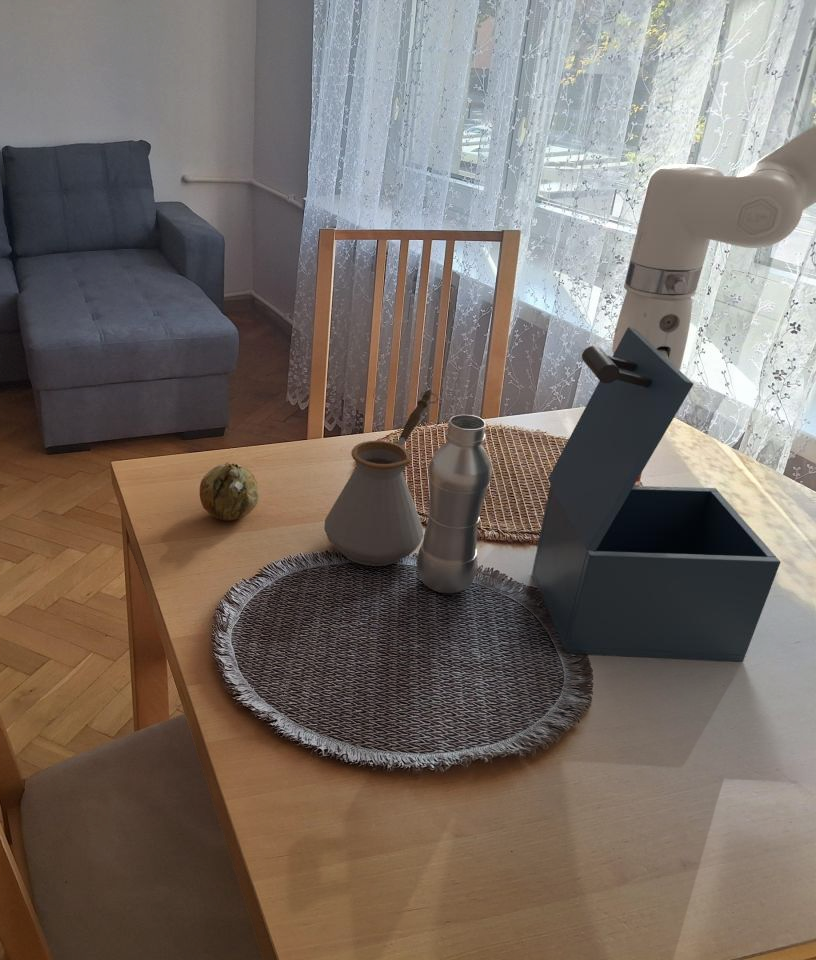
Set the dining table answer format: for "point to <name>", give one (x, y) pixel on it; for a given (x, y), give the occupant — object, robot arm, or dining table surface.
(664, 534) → the chest
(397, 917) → the dining table surface
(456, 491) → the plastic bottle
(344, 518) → the coffee pot
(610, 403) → the lid
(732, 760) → the dining table surface
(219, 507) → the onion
